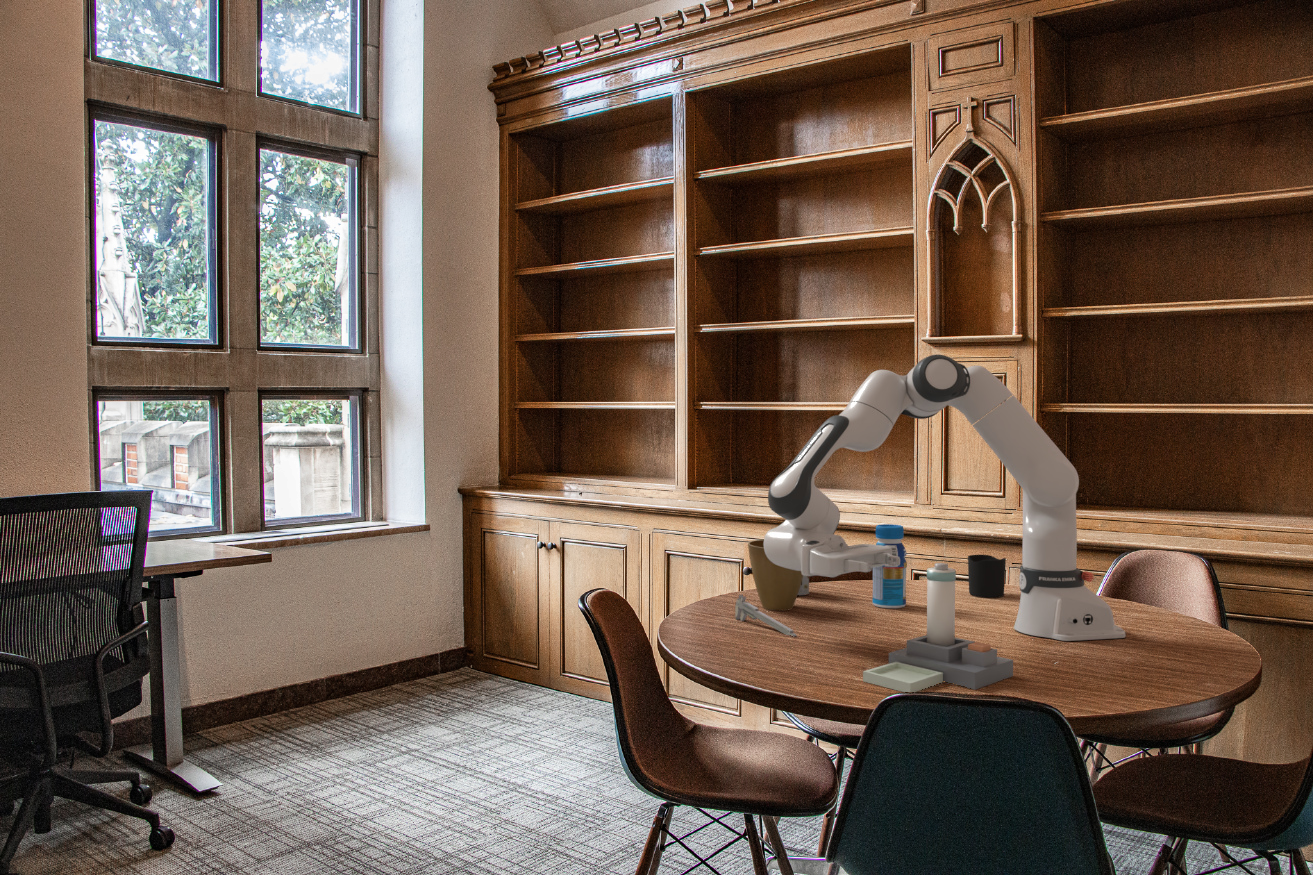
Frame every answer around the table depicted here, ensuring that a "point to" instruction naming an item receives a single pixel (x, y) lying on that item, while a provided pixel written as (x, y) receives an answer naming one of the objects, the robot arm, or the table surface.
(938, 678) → the tray
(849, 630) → the table surface
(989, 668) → the housing
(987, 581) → the pen holder
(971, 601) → the table surface
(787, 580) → the plant pot
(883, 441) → the robot arm
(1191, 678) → the table surface
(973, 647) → the plunger
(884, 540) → the beverage bottle
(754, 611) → the caliper
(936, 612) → the cartridge
